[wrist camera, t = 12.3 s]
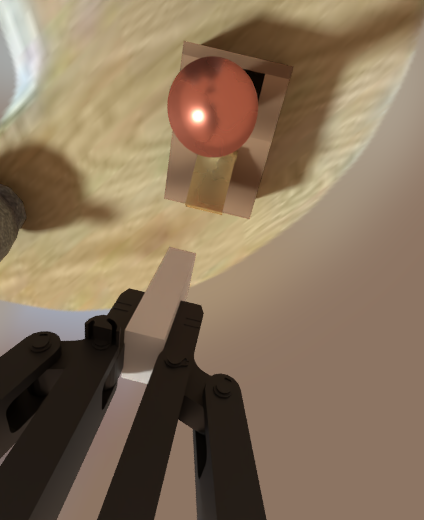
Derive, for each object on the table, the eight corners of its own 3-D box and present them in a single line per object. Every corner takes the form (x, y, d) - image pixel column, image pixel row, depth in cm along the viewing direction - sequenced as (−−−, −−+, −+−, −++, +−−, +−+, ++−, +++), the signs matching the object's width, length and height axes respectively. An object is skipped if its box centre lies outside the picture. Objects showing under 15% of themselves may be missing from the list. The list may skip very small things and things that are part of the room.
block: (196, 46, 26) (183, 40, 22) (287, 68, 26) (293, 66, 22) (176, 182, 33) (164, 198, 28) (250, 200, 32) (249, 219, 28)
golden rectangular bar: (200, 145, 26) (199, 140, 25) (237, 154, 26) (238, 149, 25) (184, 206, 25) (183, 203, 24) (222, 215, 25) (223, 212, 24)
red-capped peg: (215, 61, 27) (173, 46, 14) (264, 72, 27) (269, 68, 14) (205, 116, 29) (162, 146, 16) (251, 126, 29) (244, 166, 16)
